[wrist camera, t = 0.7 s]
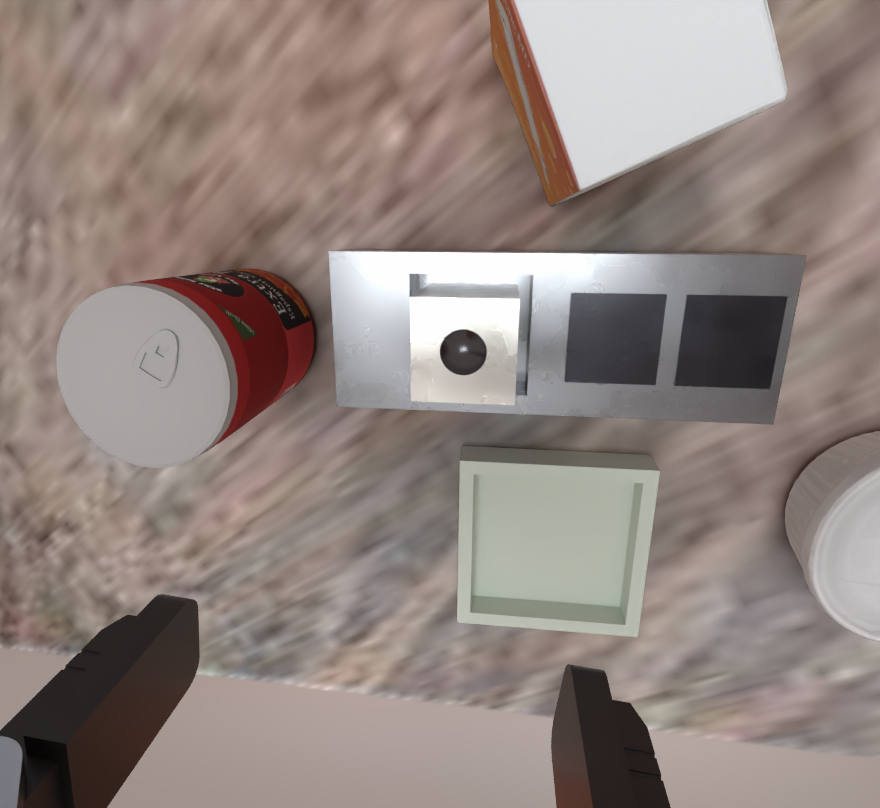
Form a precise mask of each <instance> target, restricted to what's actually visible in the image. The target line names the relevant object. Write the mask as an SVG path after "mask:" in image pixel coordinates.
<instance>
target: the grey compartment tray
mask: <svg viewBox="0 0 880 808" xmlns="http://www.w3.org/2000/svg"><path fill="white" fill-rule="evenodd" d="M805 260H806V255H793V254H779V253H760V252H639V251H519V250H398V249H347V250H337V251H329V267H330V285H331V304H332V323H333V341H334V360H335V379H336V397H337V407H359V408H383V409H408V410H432V411H457V412H482V413H506V414H531V415H556V416H580V417H605V418H630V419H654V420H679V421H703V422H728V423H753V424H773V423H774V418H775V413H776V408H777V403H778V398H779V392H780V387H781V382H782V377H783V372H784V367H785V362H786V357H787V352H788V347H789V341H790V336H791V331H792V326H793V321H794V316H795V311H796V306H797V301H798V296H799V291H800V285H801V280H802V275H803V270H804V265H805ZM431 283H476V284H517V287H518V292H519V297H520V308H519V329H518V350H517V371H516V392H515V405H493V404H468V403H442V402H416V401H411V352H410V297H411V296H412V295H414V294H415V293H417V292H418V291H420V290H421V289H423V288H424V287H426V286H427V285H429V284H431Z"/></svg>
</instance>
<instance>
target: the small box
mask: <svg viewBox="0 0 880 808" xmlns="http://www.w3.org/2000/svg"><path fill="white" fill-rule="evenodd" d="M489 11H490V24H491V42H492V53H493V57H494V59H495V62H496V64H497V66H498V69H499V71H500V73H501V75H502V78H503V80H504V83H505V85H506V88H507V90H508V93H509V96H510V98H511V101H512V104H513V106H514V109H515V112H516V114H517V117H518V120H519V122H520V125H521V127H522V130H523V133H524V135H525V138H526V141H527V144H528V146H529V149H530V152H531V155H532V157H533V160H534V163H535V166H536V169H537V171H538V174H539V177H540V180H541V183H542V185H543V188H544V191H545V194H546V197H547V200H548V203H549V205H550V206H555V205H557V204H559V203H562V202H564V201H566V200H568V199H571V198H573V197H575V196H578V195H580V194H582V193H584V192H587V191H589V190H591V189H593V188H596V187H598V186H600V185H602V184H604V183H607V182H609V181H611V180H613V179H615V178H618V177H620V176H622V175H624V174H626V173H629V172H631V171H633V170H635V169H638V168H640V167H642V166H644V165H646V164H649V163H651V162H653V161H655V160H657V159H660V158H662V157H664V156H666V155H668V154H670V153H672V152H675V151H677V150H679V149H681V148H683V147H686V146H688V145H690V144H692V143H695V142H697V141H699V140H701V139H703V138H706V137H708V136H710V135H712V134H714V133H717V132H719V131H721V130H723V129H725V128H728V127H730V126H732V125H734V124H736V123H739V122H741V121H743V120H745V119H747V118H750V117H752V116H754V115H756V114H758V113H761V112H763V111H765V110H767V109H769V108H771V107H774V106H776V105H778V104H780V103H782V102H783V101H785V99H786V96H787V85H786V81H785V76H784V71H783V66H782V62H781V58H780V54H779V50H778V45H777V41H776V36H775V32H774V28H773V24H772V20H771V16H770V12H769V8H768V3H767V0H489Z"/></svg>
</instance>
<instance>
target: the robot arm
mask: <svg viewBox="0 0 880 808" xmlns="http://www.w3.org/2000/svg"><path fill="white" fill-rule="evenodd" d="M198 664H199V623H198V605H197V602H196V601H195V600H193V599H187V598H181V597H175V596H169V595H164V594H160V595H158V596H156V597H155V598H154V599H153V600H152V601H151V602H150V603H149V604H148V605H147V606H146V607H145V608H144V609H143V610H142V611H141V612H140V613H139V614H138V615H137V616H132V615H126V616H125V617H123V618H121V619H119V620H118V621H116V622H114V623H113V624H111V625H109V626H107V627H106V628H104V629H102V630H101V631H100V632H99V633H98V634H97V635H96V636H95V637H94V638H93V639H92V640H91V641H90V642H89V643H88V644H87V645H86V646H85V647H84V648H83V649H82V652H81V653H78V654H77V655H76V656H75V657H74V658H73V659H72V660H71V661H70V662H69V663H68V664H67V665H66V668H65V669H64V670H61V671H60V672H59V673H58V674H57V675H56V676H55V677H54V678H53V679H52V680H51V681H50V682H49V683H48V684H47V685H46V686H45V687H44V688H43V689H42V690H41V691H40V692H39V693H38V694H37V695H36V696H35V697H34V698H33V699H32V700H31V701H30V702H29V703H28V704H27V705H26V706H25V707H24V708H23V709H22V710H21V711H20V712H19V713H18V714H17V715H16V716H15V717H14V718H13V719H12V720H11V721H10V722H8V723H7V724H6V725H5V726H4V727H3V728H2V729H1V731H0V808H107V806H108V805H109V803H110V802H111V801H112V799H113V798H114V796H115V795H116V793H117V792H118V791H119V789H120V788H121V786H122V785H123V783H124V782H125V780H126V779H127V777H128V776H129V775H130V773H131V772H132V770H133V769H134V767H135V766H136V764H137V763H138V761H139V760H140V758H141V757H142V756H143V754H144V753H145V751H146V750H147V748H148V747H149V745H150V744H151V742H152V741H153V740H154V738H155V737H156V735H157V734H158V732H159V730H160V729H161V728H162V726H163V725H164V723H165V722H166V721H167V719H168V718H169V716H170V715H171V713H172V712H173V710H174V709H175V708H176V706H177V705H178V703H179V702H180V700H181V699H182V697H183V696H184V694H185V693H186V691H187V690H188V688H189V687H190V685H191V683H192V681H193V679H194V677H195V674H196V671H197V668H198ZM551 749H552V763H553V774H554V783H555V795H556V805H557V808H671V807H670V804H669V801H668V797H667V794H666V790H665V787H664V783H663V781H661V773H660V770H659V766H658V763H657V759H656V758H655V757H654V755H655V753H654V749H653V746H652V742H651V739H650V736H649V732H648V729H647V726H646V725H645V724H644V722H643V721H642V719H641V718H640V716H639V715H638V714H637V712H636V711H635V709H634V708H633V707H632V705H631V704H630V703H627V702H621V701H615V700H612V697H611V693H610V688H609V684H608V680H607V676H606V673H605V672H604V671H603V670H598V669H592V668H586V667H581V666H575V665H569V664H568V665H567V666H566V668H565V672H564V676H563V680H562V685H561V689H560V694H559V698H558V702H557V707H556V711H555V716H554V720H553V728H552V744H551Z"/></svg>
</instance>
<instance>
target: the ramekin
mask: <svg viewBox="0 0 880 808" xmlns="http://www.w3.org/2000/svg"><path fill="white" fill-rule="evenodd" d="M785 526H786V533H787V536H788V539H789V542H790V545H791V547H792V549H793V550H794V552H795V555H796V557H797V559H798V561H799V563H800V565H801V567H802V569H803V573H804V577H805V580H806V583H807V585H808V588H809V589H810V591H811V593H812V595H813V596H814V598H815V599H816V601H817V602H818V603H819V605H820V606H821V607H822V608H823V609H824V610H825V611H826V612H827V614H828V615H829V616H830V617H832V618H833V619H834V620H835V621H836V622H837V623H839V624H840V625H842V626H843V627H844V628H846V629H848V630H850V631H852V632H853V633H855V634H857V635H860V636H862V637H865V638H868V639H871V640H874V641H878V642H880V431H875V432H871V433H865V434H862V435H859V436H856V437H851V438H849V439H847V440H845V441H843V442H840V443H838V444H836V445H835V446H833V447H831V448H829V449H827V450H826V451H825V452H824V453H822V454H821V455H819V456H818V457H817V458H816V459H814V460H813V461H812V462H811V463H810V464H809V465H808V466H807V467H806V468H805V469H804V470H803V471H802V473H801V474H800V476H799V477H798V478H797V480H796V481H795V483H794V485H793V487H792V489H791V491H790V493H789V497H788V500H787V503H786V509H785Z"/></svg>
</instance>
